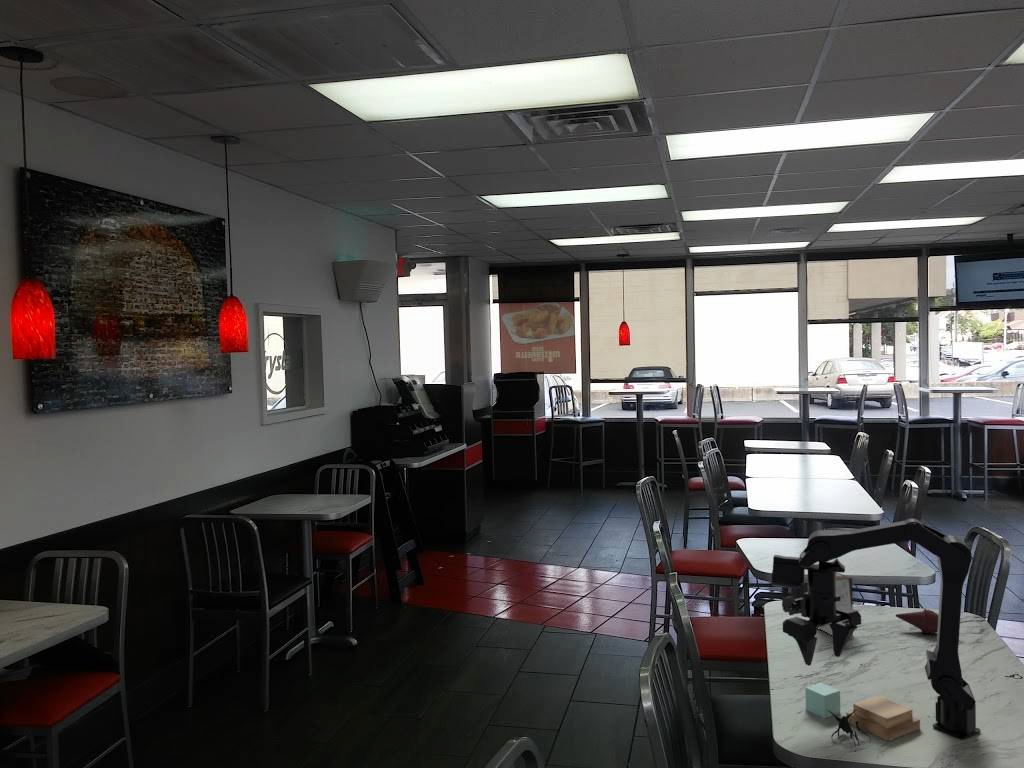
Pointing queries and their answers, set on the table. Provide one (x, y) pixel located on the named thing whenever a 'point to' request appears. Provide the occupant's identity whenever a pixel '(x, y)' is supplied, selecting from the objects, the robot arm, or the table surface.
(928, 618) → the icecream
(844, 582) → the coffee box
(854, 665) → the table surface
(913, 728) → the plinth
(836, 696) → the teal block
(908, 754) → the table surface
